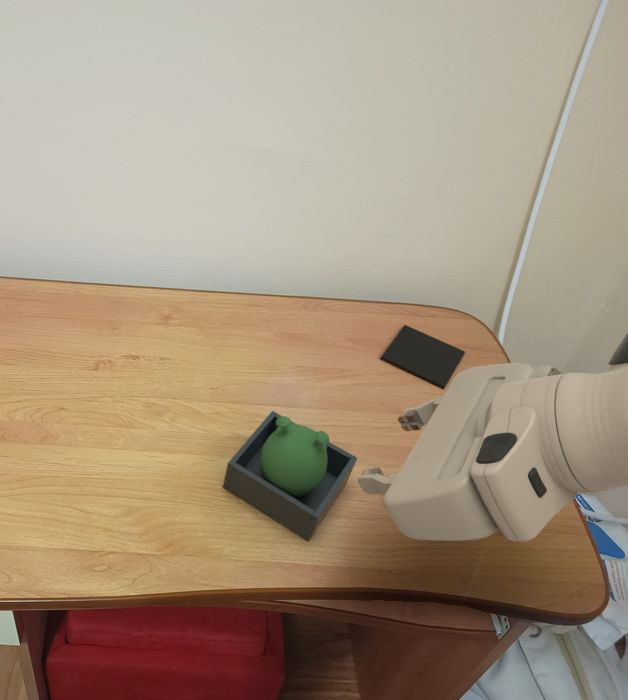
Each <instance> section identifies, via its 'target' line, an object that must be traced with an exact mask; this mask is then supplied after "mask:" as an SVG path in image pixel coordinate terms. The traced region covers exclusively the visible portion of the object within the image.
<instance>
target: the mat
mask: <svg viewBox="0 0 628 700" xmlns="http://www.w3.org/2000/svg"><path fill="white" fill-rule="evenodd" d="M465 354H466V351H464V350H462V349H461V348H458V347H456V346H453V345H452V344H449V343H447V342H445V341H443V340H440V339H438V338H435V337H433V336H432V335H428V334H427V333H425V332H422V331H420V330H418V329H417V328H413V327H411V326H409V325H407V324H404V325H403V326H402V327H401V329H400V331H398V333H397V334H396V336H395V337H394V338H393V340H392V341H391V342H390V343H389V345H388V346H387V348H386V349H385V351H384V352H383V353H382V355H381V356H380V358H379V359H380V360H381V361H384V362H386V363H388V364H389V365H392V366H394V367H396V368H397V369H400V370H403V371H405V372H407V373H409V374H411V375H412V376H415V377H417V378H419V379H422V380H423V381H425V382H428V383H430V384H432V385H435V386H436V387H439V388H440V389H442V390H444V389H445V388H446V387H447V384H448V383H449V381H450V380H451V377H452V376H453V374H454V373H455V371H456V369H457V367H458V366H459V364H460V363H461V361H462V359H463V357H464V355H465Z"/></svg>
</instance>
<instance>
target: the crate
mask: <svg viewBox="0 0 628 700" xmlns="http://www.w3.org/2000/svg"><path fill="white" fill-rule="evenodd" d="M279 417H283V415H281V414H279V413H277V412H276V411H274V410H272V411H271V412H270V413H269V414H268V415H267V416H266V418H265V419H264V420H263V421H262V422H261V423H260V425H259V426H258V427H257V428H256V429H255V431H254V432H253V433H251V435H250V436H249V438H248V439H247V440H246V441H245V443H244V444H242V446H240V448H239V449H238V451H236V453H235V454H234V455H233V456H232V458H231V459H230V460H229V461H228V462H227V466H226V471H225V475H224V479H223V484H222V485H223V486H222V488H223V489H225V490H226V491H228V492H229V493H231V494H232V495H233V496H235V497H237V498H239V499H240V500H242V501H243V502H245V503H247V504H248V505H249V506H251V507H253V508H255V509H256V510H258V511H259V512H261V513H262V514H263V515H266V516H267V517H268V518H270V519H272V520H273V521H274V522H277V523H278V524H280V525H281V526H283V527H284V528H286V529H288V530H289V531H291V532H292V533H294V534H295V535H297V536H299V538H302V539H303V540H305V541H307V542H310V540H311V539H312V537H313V536H314V534H315V533H316V531H317V530H318V528H319V526H320V525H321V523H323V520H324V519H325V518H326V515H327V514H328V512H329V511H330V510H331V508H332V507H333V505H334V503H335V502H336V500H337V499H338V497H339V495H340V494H341V492H342V491H343V490H344V487H345V486H346V484H347V483H348V481H349V479H350V476H351V475H352V472H353V469H354V468H355V465H356V463H357V460H358V457H357V456H355V455H353V454H352V453H350V452H348V451H346V450H344V449H342V448H341V447H339V446H337V445H335V444H334V443H332V442H330V441H329V443H328V444H327V450H326V451H327V456H328V462H327V469H326V473H325V475H324V477H323V479H322V481H321V482H320V484H319V485H318V486H317V487H316V488H315V489H314V490H313V491H312V492H310V493H308V494H306V495H304V496H300V497H291V496H290V495H288V494H286V493H285V492H283V491H281V490H280V489H278V488H277V487H275V486H273V485H272V484H270V483H268V482H267V481H265V480H264V478H263V475H262V473H261V467H260V456H261V452H262V448H263V446H264V444H265V442H266V440H267V439H268V438H269V436H270V435H271V434H272V433H273V432H275V431H276V429H277V427H278V426H277V425H276V420H277V419H278V418H279ZM291 422H292V423H295V422H294V421H292V420H291Z"/></svg>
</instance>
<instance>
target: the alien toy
mask: <svg viewBox="0 0 628 700" xmlns="http://www.w3.org/2000/svg"><path fill="white" fill-rule="evenodd" d="M282 416H283V415H282ZM291 421H292V419H291V418H290V417H289V416H285V415H284V416H283V417H279V418H278V419H277V420H276V425H277V426H278V427H277V429H276V431H275V432H273V433H272V434H271V435H270V436H269V438H268V439H267V440H266V442H265V444H264V446H263V448H262V452H261V456H260V467H261V473H262V475H263V478H264V480H265V481H267V482H268V483H270V484H272V485H273V486H275V487H277V488H278V489H280V490H281V491H283V492H285V493H286V494H288V495H290V496H291V497H300V496H304V495H306V494H308V493H310V492H312V491H313V490H314V489H315V488H316V487H317V486H318V485H319V484H320V482H321V481H322V479H323V477H324V475H325V473H326V469H327V462H328V456H327V451H326V450H327V444H328V443H329V442H330V437H329V435H328V433H326V432H325V431H323V430H318V431H317V430H316V429H315V430H314V429H313V428H310V427H308V426H306V425H302V424H298V423H297V422H296V423H295V422H294V423H292V422H293V421H292V422H291Z"/></svg>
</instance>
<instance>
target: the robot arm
mask: <svg viewBox="0 0 628 700" xmlns="http://www.w3.org/2000/svg"><path fill="white" fill-rule="evenodd" d="M608 365H609V371H605V372H599V373H590V372H589V373H588V372H566V373H562V372H561V371H560V370H559V369H558V368H555V367H552V366H551V365H549V364H547V365H546V364H545V365H544V364H543V365H538V366H532V365H531V364H529V363H526V362H505V363H496V364H487V365H486V364H485V365H479V366H472V367H469V368H466V369H464V370H462V371H460V372H458V373H457V374H455V375H454V378H453V379H452V381H451V382H450V384H449V386H448V388H447V389H446V391H445V393H444V394H443V395H438V396H436V397H433V398H431V399H429V400H427V401H425V402H422V403H421V404H419V405H418V406H412V407H405V408H403V410H402V411H401V413H400V414H399V416H398V418H397V421H398V423H399V424H400V426H401V428H402V430H404V432H411V431H421V430H422V431H421V433H420V434H419V437H418V438H417V440H416V441H415V443H414V445H413V446H412V448H411V450H410V451H409V453H408V455H407V456H406V458H405V460H404V462H403V463H402V465H401V466H400V467H399V468H400V469H399V470H398V471H397V472H394V473H390V475H389V476H388V477H387V476H385V475H384V472H383V471H382V469H381V467H372V468H370V467H366V468H365V469H364V470H363V471H362V473H361V475H360V476H359V477H358V478H357V483H358V484H359V486H360V488H361V490H362V492H364V493H365V494H366V495H382V496H383V497H382V505H383V507H384V509H385V510H386V513H387V514H388V517H389V518H390V519H391V521H392V523H393V524H394V526H395V527H396V529H397V530H398V532H400V533H401V534H402V535H403V536H405V537H406V538H408V539H412V540H417V541H418V540H420V541H440V542H441V541H442V542H444V541H445V542H455V541H456V542H459V541H460V542H461V541H462V542H463V541H475V540H481V539H485V538H487V537H490V536H492V535H494V534H495V533H496V532H498V531H500V532H501V534H502V535H503V537H504V538H505V539H506V540H508V541H511V542H528V541H531V540H534V539H535V538H536V537H537V536H539V534H540V533H541V532H542V531H543V529H545V527H546V526H547V524H548V523H550V521H551V520H552V519H553V518H554V517H555V516H556V515H557V514H558V513H559V512H560V511H561V510H562V509H564V507H566V506H567V505H569V504H570V503H571V502H572V501H574V500H575V498H576V497H577V496H578V493H600V492H606V491H609V490H612V489H616V488H621V487H626V486H627V487H628V332H627V333H626V334H625V336H624V338H623V339H622V341H621V342H620V343H619V345H618V346H617V347H616V350H615V351H614V353H613V354H612V355H611V358H610V360H609V361H608ZM424 426H425V427H424ZM423 427H424V428H423ZM422 428H423V429H422Z"/></svg>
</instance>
